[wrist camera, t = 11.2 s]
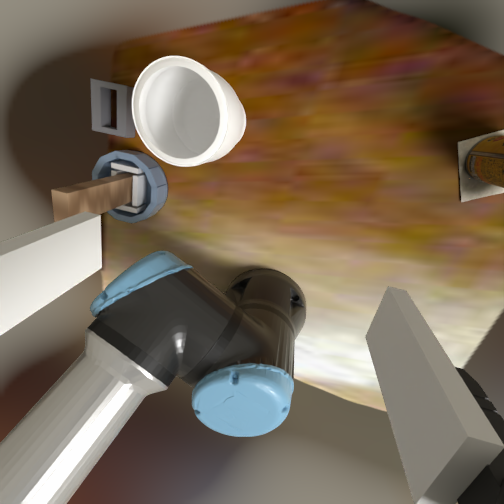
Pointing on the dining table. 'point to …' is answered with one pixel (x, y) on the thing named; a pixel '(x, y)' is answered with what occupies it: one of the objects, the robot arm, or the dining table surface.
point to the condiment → (481, 166)
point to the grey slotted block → (103, 108)
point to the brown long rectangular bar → (92, 196)
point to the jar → (186, 112)
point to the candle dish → (135, 183)
